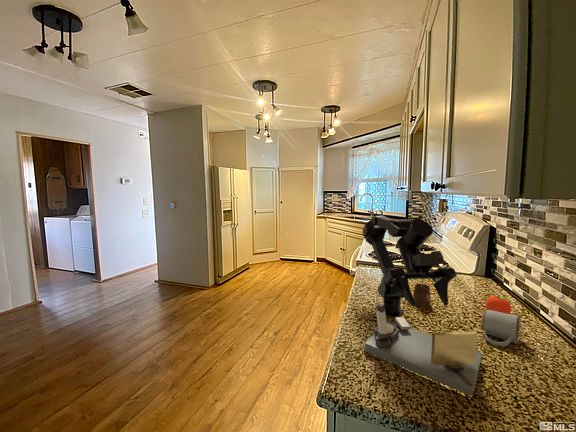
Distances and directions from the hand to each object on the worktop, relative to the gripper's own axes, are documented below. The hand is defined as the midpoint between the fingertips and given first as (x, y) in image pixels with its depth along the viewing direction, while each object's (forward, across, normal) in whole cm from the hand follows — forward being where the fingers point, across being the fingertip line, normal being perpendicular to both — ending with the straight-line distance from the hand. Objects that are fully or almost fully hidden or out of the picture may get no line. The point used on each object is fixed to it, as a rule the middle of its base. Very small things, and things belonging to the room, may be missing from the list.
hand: (430, 305), depth 67 cm
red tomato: (-2, +36, +22) cm, 42 cm away
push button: (+4, -10, +9) cm, 14 cm away
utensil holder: (-10, +15, +30) cm, 35 cm away
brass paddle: (+14, 0, 0) cm, 14 cm away
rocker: (+2, -4, +12) cm, 13 cm away
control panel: (+11, -3, +8) cm, 14 cm away
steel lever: (+6, -13, +5) cm, 15 cm away
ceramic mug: (+7, +24, +13) cm, 28 cm away
